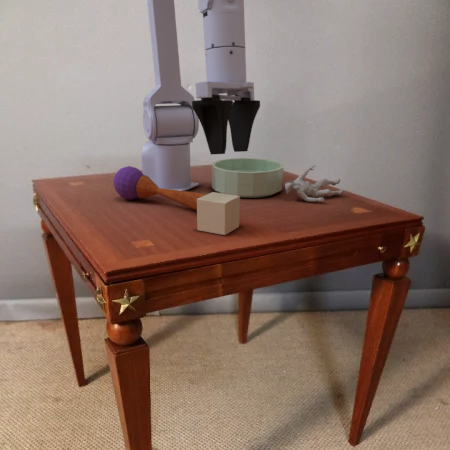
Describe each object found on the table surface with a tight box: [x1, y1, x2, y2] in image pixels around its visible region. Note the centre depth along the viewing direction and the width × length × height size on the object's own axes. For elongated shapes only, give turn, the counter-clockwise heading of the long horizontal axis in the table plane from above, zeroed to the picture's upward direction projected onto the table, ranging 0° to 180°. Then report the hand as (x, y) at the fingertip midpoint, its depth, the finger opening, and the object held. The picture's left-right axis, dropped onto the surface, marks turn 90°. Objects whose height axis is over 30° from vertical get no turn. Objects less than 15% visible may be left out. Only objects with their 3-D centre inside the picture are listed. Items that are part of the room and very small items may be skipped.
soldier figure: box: [284, 165, 344, 203], centre depth 96 cm, size 8×5×12 cm
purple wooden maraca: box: [113, 165, 208, 211], centre depth 90 cm, size 6×6×20 cm
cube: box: [196, 191, 241, 236], centre depth 78 cm, size 5×5×5 cm
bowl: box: [211, 157, 284, 199], centre depth 100 cm, size 14×14×5 cm
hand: (229, 152), depth 75 cm, fingers open, 7 cm apart
